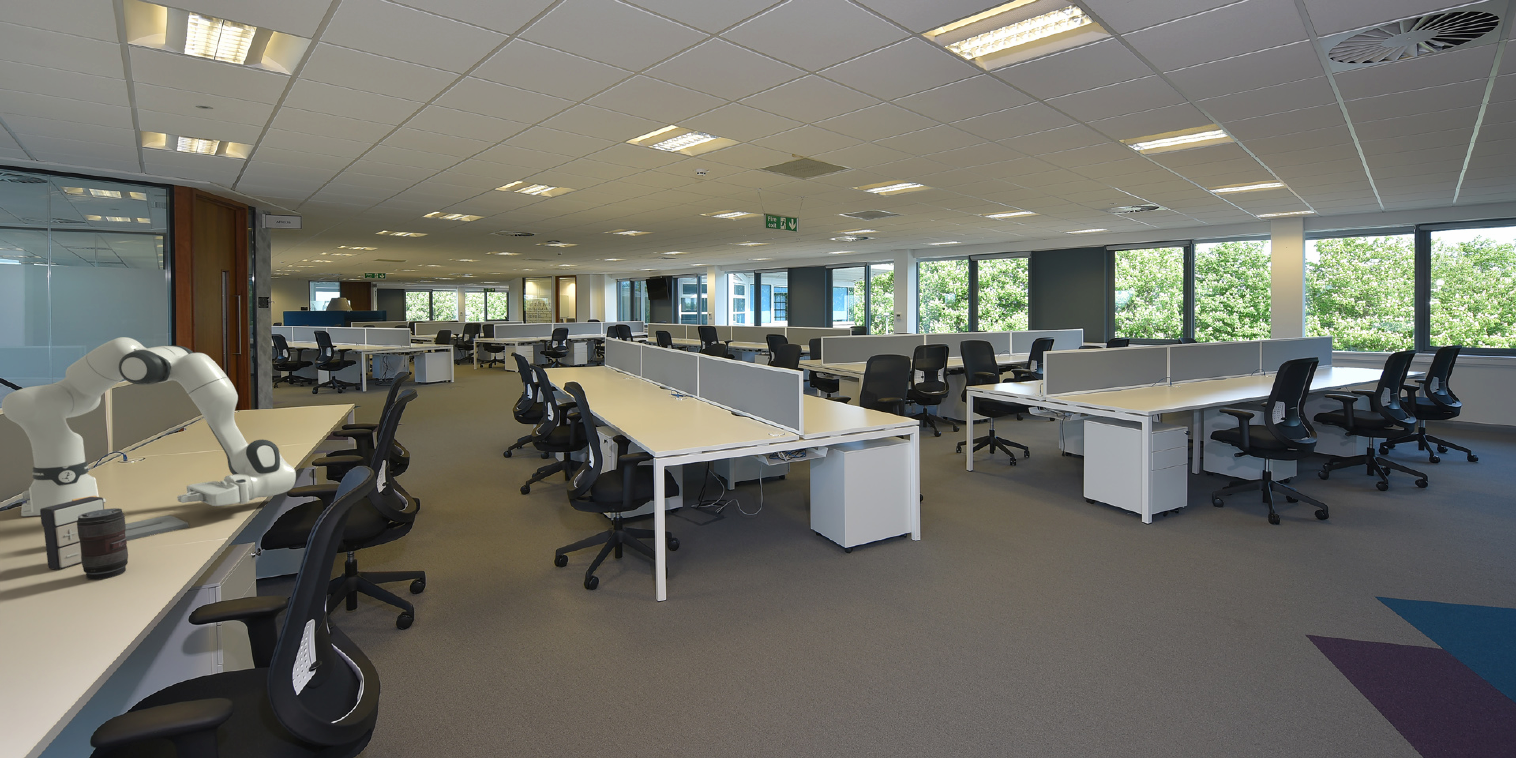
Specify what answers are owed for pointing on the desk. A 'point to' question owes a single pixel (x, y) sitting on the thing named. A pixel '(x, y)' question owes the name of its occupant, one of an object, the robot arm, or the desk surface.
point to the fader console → (153, 526)
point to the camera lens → (103, 543)
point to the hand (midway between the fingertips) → (179, 499)
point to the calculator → (65, 530)
